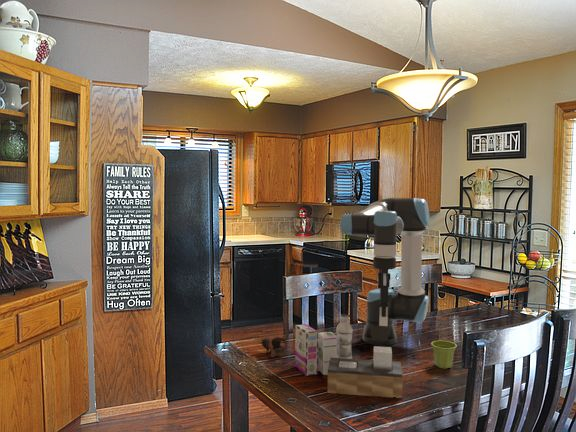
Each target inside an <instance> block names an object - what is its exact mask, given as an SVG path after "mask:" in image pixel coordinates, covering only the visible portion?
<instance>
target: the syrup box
mask: <svg viewBox="0 0 576 432" xmlns="http://www.w3.org/2000/svg"><path fill="white" fill-rule="evenodd" d="M337 347H338V343H337V334H335V333H334V332H332V331H322V332H318V368H317V371H318V372H319V373H321V374H322V375H323V376H328V367H329V362H330V358H337Z"/></svg>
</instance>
